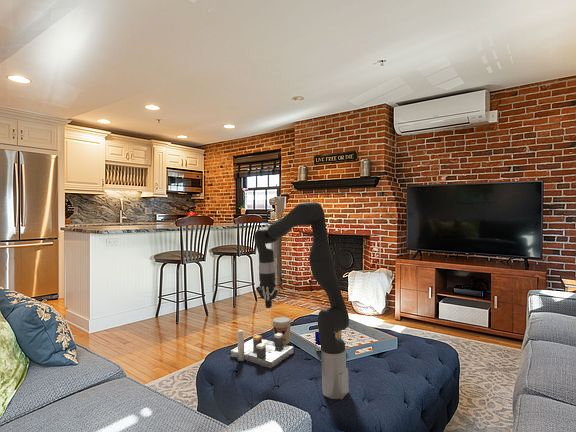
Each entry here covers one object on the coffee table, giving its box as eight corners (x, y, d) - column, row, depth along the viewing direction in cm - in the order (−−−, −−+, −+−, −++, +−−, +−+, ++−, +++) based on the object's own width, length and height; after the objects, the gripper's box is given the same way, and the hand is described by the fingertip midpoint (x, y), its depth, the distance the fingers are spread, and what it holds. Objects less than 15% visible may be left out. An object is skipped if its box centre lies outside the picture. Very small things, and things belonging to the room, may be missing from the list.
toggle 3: (283, 344, 181) (283, 333, 181) (279, 346, 179) (279, 336, 178) (278, 343, 183) (277, 332, 182) (274, 345, 180) (274, 334, 180)
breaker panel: (293, 352, 179) (293, 346, 178) (271, 368, 164) (271, 361, 164) (254, 343, 192) (254, 337, 192) (231, 356, 177) (230, 350, 177)
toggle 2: (266, 355, 169) (265, 344, 169) (262, 358, 167) (261, 346, 167) (260, 353, 171) (260, 342, 171) (256, 356, 169) (256, 345, 168)
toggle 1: (262, 346, 180) (261, 335, 179) (258, 348, 177) (257, 338, 177) (257, 345, 181) (256, 334, 181) (253, 347, 179) (252, 336, 178)
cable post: (247, 359, 173) (245, 330, 172) (242, 362, 170) (240, 332, 169) (241, 357, 175) (239, 329, 174) (236, 360, 172) (234, 331, 171)
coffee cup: (270, 344, 189) (269, 321, 188) (277, 337, 198) (276, 315, 197) (288, 346, 186) (287, 323, 185) (293, 339, 195) (292, 317, 194)
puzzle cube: (315, 351, 179) (314, 331, 179) (323, 343, 188) (322, 324, 188) (334, 355, 175) (334, 334, 174) (342, 347, 183) (341, 327, 183)
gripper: (283, 270, 172) (284, 307, 173) (260, 268, 179) (262, 303, 180) (273, 274, 166) (275, 312, 167) (250, 271, 173) (252, 308, 174)
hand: (268, 307), depth 174 cm, fingers closed
